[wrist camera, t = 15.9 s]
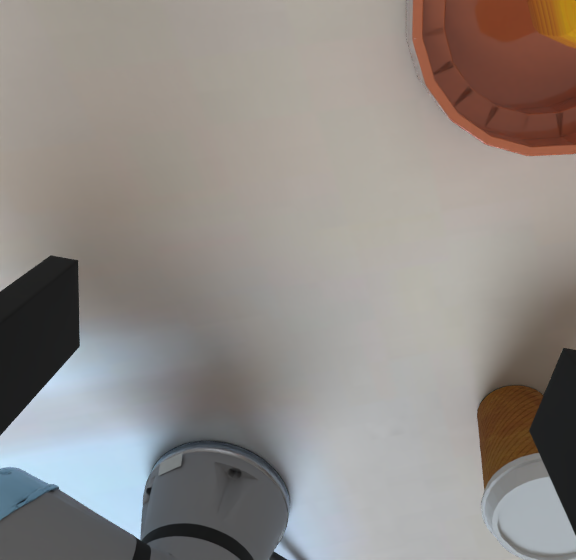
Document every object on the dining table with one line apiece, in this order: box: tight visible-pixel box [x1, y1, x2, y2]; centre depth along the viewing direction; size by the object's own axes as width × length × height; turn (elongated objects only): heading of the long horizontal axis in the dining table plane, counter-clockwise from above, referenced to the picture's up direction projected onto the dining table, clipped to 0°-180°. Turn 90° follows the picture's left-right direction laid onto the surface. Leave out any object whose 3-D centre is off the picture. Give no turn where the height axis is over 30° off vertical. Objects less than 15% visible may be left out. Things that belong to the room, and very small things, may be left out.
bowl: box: [406, 0, 576, 156], centre depth 33 cm, size 17×17×6 cm
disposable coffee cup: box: [477, 385, 576, 560], centre depth 44 cm, size 10×10×12 cm
